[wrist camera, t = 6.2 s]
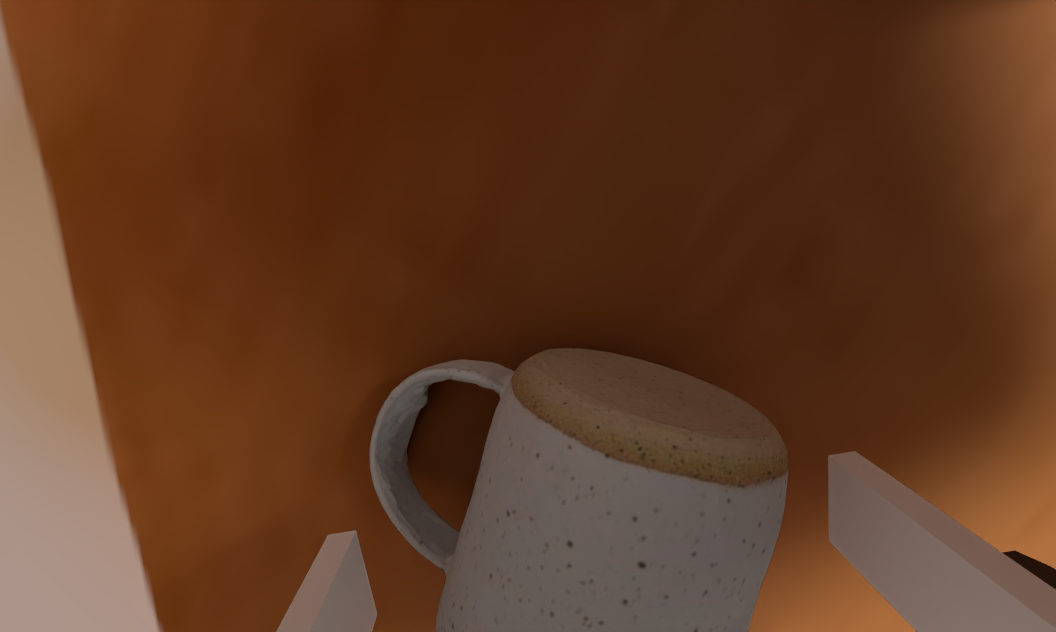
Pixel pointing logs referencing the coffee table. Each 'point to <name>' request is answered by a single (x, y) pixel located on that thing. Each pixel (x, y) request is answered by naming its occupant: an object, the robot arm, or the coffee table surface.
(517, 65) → the coffee table surface
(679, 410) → the ceramic mug
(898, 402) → the coffee table surface
